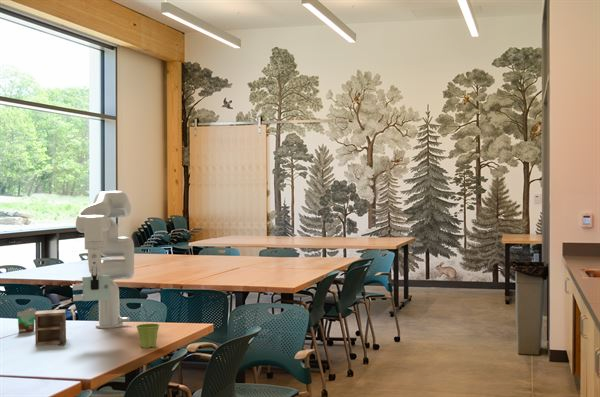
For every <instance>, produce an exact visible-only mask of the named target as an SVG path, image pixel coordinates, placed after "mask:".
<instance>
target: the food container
mask: <svg viewBox="0 0 600 397" xmlns="http://www.w3.org/2000/svg"><path fill="white" fill-rule="evenodd" d="M36 311H37V310H36V308H35V307H34V308H33V307H26V309H25V310H22V311H17V314H16V315H17V325H18V328H17V329H18V334H27V333H33V332H35V313H36Z"/></svg>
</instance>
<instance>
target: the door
mask: <svg viewBox="0 0 600 397" xmlns="http://www.w3.org/2000/svg"><path fill="white" fill-rule="evenodd" d="M92 278H93V277H92ZM81 280H82V283H72V291H80V290H81V291H82V293H81V294H73V295H72V301H73V302H78V301H79V302H80V301H82V302H91V301H99V300H108V299H110V281H109V275H106V276H98V280H99V289H98V290H91V275H90V276H82V278H81Z"/></svg>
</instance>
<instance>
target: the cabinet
mask: <svg viewBox="0 0 600 397" xmlns="http://www.w3.org/2000/svg"><path fill="white" fill-rule="evenodd" d="M66 315H67V314H66V309H52V310H51V309H49V310H36V313H35V321H34V334H35V346H41V345H43V346H44V345H58V347H59V346H60V347H62V346H65V344H66V341H67V322H66V321H67V319H66Z"/></svg>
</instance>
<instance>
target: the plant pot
mask: <svg viewBox="0 0 600 397" xmlns="http://www.w3.org/2000/svg"><path fill="white" fill-rule="evenodd" d="M159 327H160V324H159V323H141V324H138V325H136V327H135V328H137V332H138V337H139V343H140V347H141V348H143V349H150V348H155V347H156V346H157V339H158V333H159V332H158V331H159V329H160V328H159Z"/></svg>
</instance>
